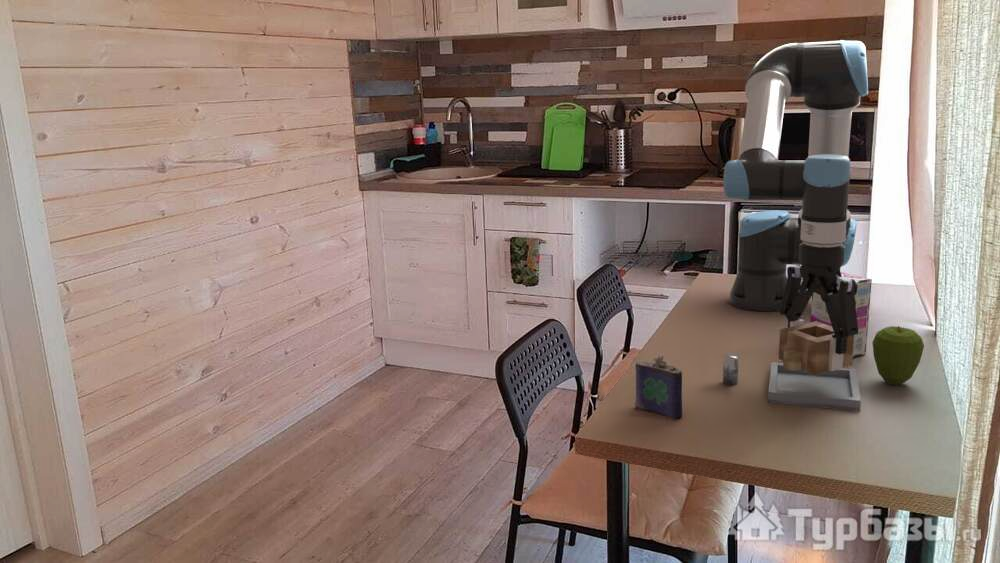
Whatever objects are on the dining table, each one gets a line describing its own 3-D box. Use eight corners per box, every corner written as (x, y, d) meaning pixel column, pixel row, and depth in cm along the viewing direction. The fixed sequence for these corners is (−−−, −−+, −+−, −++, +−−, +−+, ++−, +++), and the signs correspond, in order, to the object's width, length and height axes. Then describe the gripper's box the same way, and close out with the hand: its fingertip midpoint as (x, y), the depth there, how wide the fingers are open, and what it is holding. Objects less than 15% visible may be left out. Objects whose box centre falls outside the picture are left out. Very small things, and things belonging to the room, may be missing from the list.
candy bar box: (867, 354, 166) (873, 278, 162) (850, 359, 164) (856, 282, 159) (823, 339, 176) (828, 267, 171) (807, 344, 173) (812, 271, 169)
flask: (632, 408, 145) (633, 353, 143) (641, 403, 147) (641, 349, 145) (677, 422, 139) (678, 364, 136) (686, 416, 141) (687, 359, 139)
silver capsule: (723, 379, 157) (724, 352, 155) (738, 380, 156) (739, 354, 154) (722, 384, 154) (722, 357, 153) (737, 386, 153) (738, 359, 152)
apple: (877, 392, 148) (882, 333, 145) (863, 374, 156) (868, 318, 153) (927, 392, 146) (933, 333, 143) (910, 375, 154) (916, 318, 151)
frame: (770, 361, 149) (771, 330, 148) (814, 350, 154) (816, 321, 152) (806, 376, 142) (808, 344, 140) (851, 365, 146) (854, 334, 144)
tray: (771, 371, 159) (771, 362, 159) (855, 378, 154) (855, 369, 153) (768, 402, 145) (768, 392, 145) (860, 411, 140) (860, 400, 140)
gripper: (762, 235, 150) (757, 347, 156) (856, 256, 131) (846, 384, 137) (793, 230, 153) (787, 341, 159) (888, 251, 134) (878, 375, 140)
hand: (814, 360), depth 148 cm, fingers closed on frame, 9 cm apart
